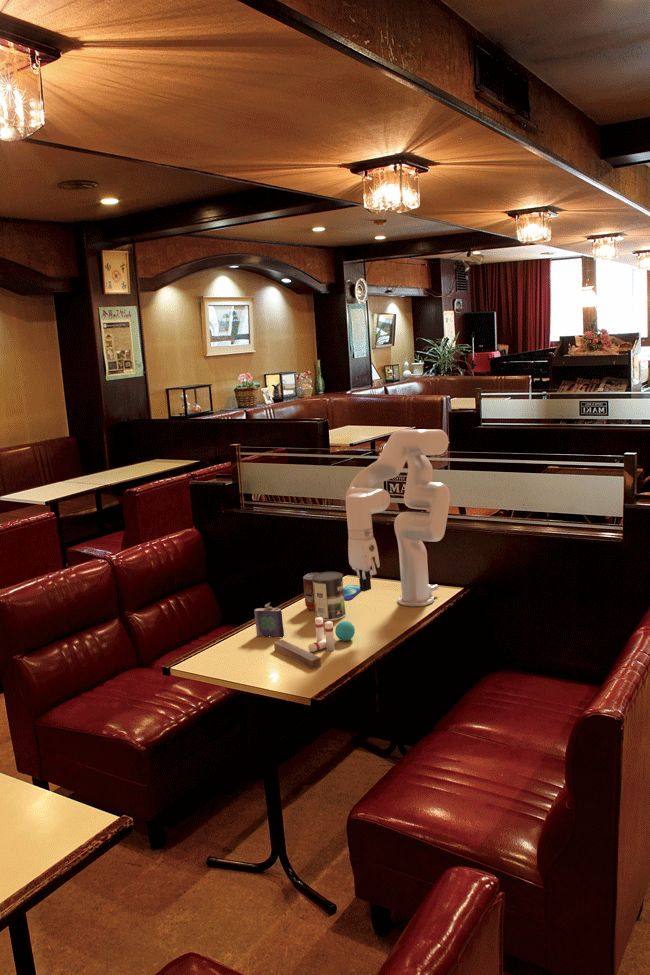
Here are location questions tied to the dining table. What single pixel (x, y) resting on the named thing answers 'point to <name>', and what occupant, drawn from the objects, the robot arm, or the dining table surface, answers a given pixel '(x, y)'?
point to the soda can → (309, 591)
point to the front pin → (318, 645)
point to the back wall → (297, 654)
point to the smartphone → (351, 592)
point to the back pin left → (329, 636)
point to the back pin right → (319, 629)
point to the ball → (344, 630)
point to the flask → (269, 622)
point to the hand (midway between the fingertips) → (365, 589)
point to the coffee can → (329, 595)
